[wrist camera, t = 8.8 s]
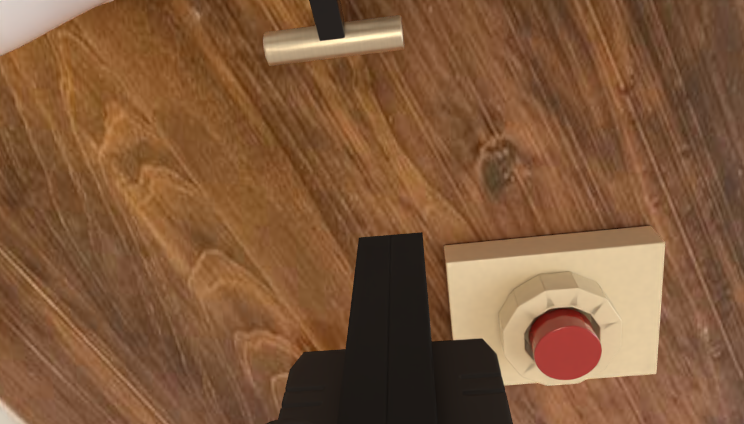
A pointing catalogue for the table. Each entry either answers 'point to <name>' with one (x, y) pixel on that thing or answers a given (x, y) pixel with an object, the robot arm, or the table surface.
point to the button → (564, 344)
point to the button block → (560, 296)
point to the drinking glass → (36, 19)
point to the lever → (333, 36)
